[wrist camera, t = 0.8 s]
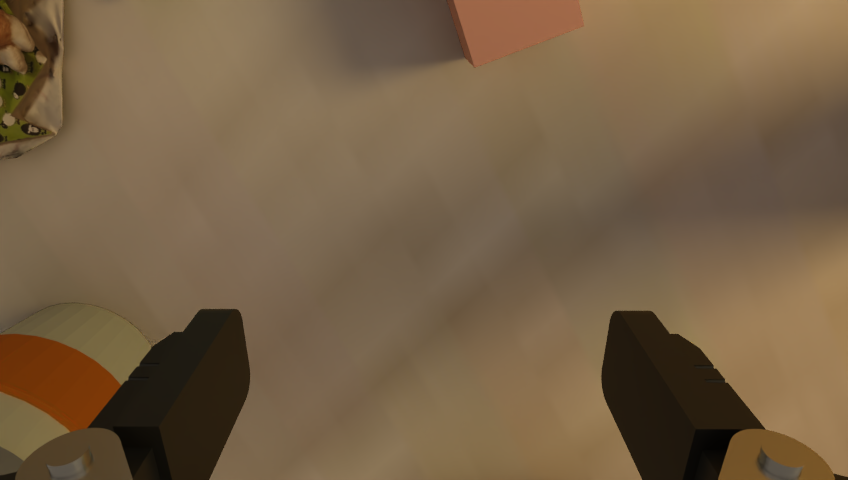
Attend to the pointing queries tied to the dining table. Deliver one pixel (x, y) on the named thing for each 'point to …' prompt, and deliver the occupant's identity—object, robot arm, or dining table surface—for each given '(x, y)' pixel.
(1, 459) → the reusable coffee cup
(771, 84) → the dining table surface
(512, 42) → the red brick
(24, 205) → the dining table surface
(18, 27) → the bear figurine
